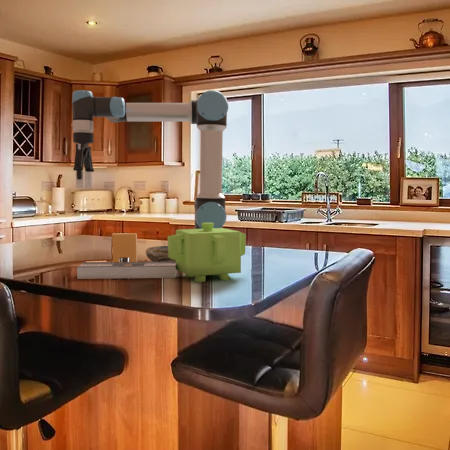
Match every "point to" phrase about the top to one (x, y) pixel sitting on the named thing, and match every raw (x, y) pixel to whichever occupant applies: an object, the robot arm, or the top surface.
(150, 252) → the stone
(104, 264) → the rail
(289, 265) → the top surface
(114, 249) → the tall orange block
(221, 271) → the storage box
